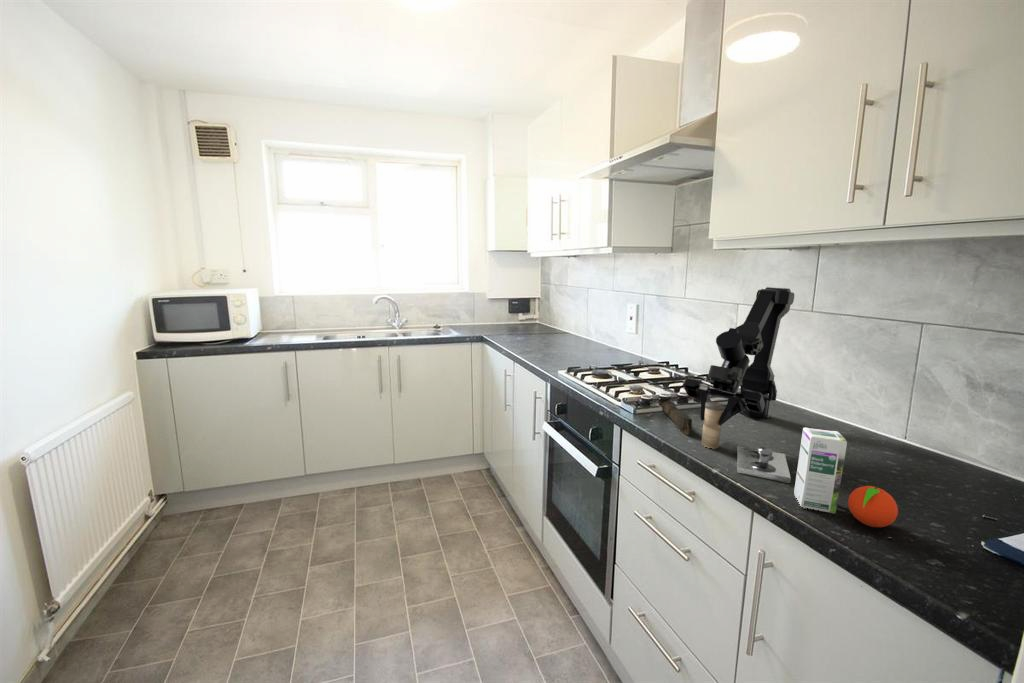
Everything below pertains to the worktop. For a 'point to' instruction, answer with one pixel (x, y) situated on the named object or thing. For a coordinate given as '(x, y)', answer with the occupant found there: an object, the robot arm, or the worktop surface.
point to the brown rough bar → (678, 417)
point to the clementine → (872, 506)
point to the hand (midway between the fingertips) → (710, 422)
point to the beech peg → (712, 425)
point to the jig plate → (754, 472)
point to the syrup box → (820, 469)
